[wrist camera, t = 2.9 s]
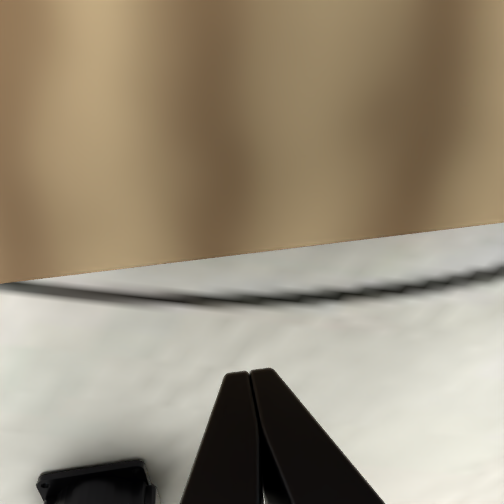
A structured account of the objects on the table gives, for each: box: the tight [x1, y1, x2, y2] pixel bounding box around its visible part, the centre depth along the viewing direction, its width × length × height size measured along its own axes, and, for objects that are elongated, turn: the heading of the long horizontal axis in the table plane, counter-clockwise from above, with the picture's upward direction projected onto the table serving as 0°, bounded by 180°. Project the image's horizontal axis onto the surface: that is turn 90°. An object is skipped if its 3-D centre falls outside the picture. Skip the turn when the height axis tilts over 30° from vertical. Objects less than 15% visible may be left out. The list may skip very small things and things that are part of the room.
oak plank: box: [0, 0, 504, 284], centre depth 15 cm, size 22×10×2 cm, turn 93°
